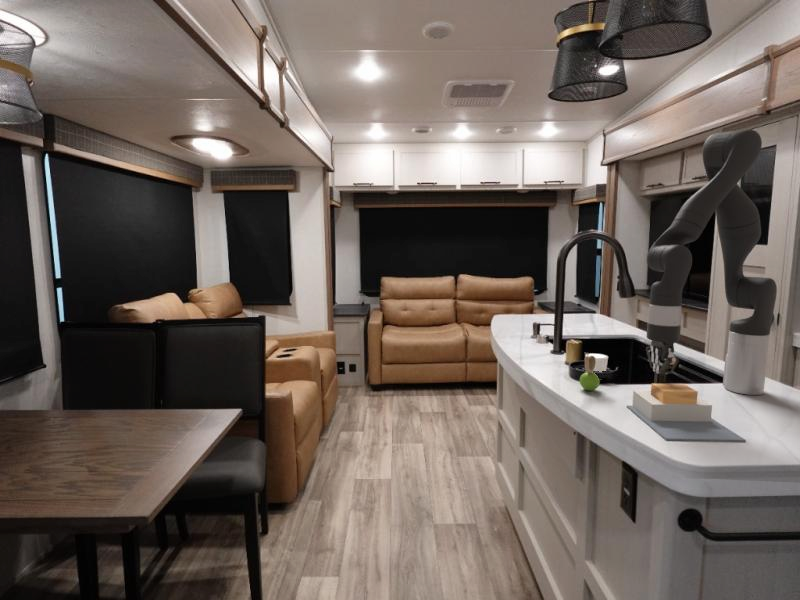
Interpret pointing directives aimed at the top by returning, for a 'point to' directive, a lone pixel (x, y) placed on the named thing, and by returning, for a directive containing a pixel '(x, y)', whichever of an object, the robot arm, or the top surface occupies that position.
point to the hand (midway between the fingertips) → (659, 386)
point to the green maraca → (589, 374)
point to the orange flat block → (674, 393)
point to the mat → (690, 429)
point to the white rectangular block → (671, 409)
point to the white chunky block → (599, 361)
